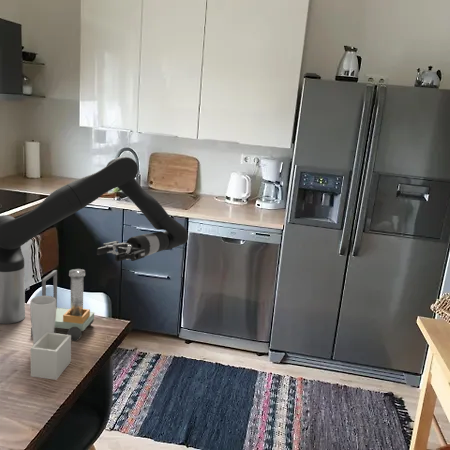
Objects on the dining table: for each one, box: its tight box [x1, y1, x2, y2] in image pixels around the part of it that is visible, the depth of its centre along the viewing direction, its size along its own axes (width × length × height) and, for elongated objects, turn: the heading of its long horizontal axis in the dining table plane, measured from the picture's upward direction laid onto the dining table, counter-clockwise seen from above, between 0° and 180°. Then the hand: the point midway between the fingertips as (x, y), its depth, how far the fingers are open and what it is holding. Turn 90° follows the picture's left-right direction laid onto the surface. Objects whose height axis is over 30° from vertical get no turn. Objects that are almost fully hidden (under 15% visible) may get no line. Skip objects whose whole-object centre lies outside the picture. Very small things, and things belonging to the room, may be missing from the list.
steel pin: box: [68, 268, 86, 316], centre depth 140 cm, size 5×5×15 cm
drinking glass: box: [29, 295, 56, 346], centre depth 131 cm, size 7×7×15 cm
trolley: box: [41, 269, 95, 342], centre depth 142 cm, size 13×11×18 cm
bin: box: [30, 332, 72, 380], centre depth 122 cm, size 7×9×8 cm
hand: (106, 255), depth 147 cm, fingers open, 8 cm apart
